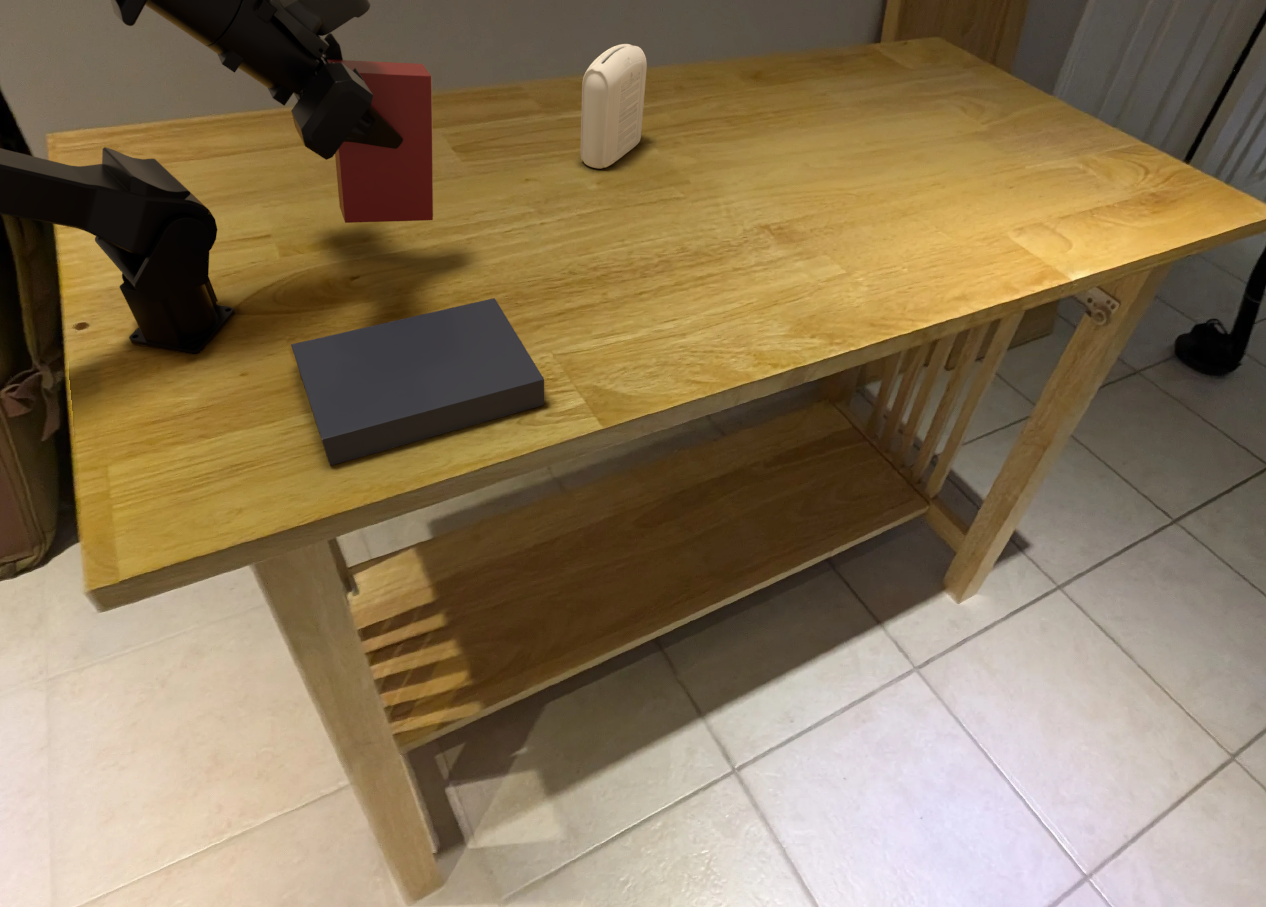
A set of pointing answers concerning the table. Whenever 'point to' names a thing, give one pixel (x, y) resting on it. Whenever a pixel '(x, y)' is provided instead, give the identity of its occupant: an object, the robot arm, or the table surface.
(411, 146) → the small book
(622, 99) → the photo printer
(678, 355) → the table surface
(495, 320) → the dark gray flat block
